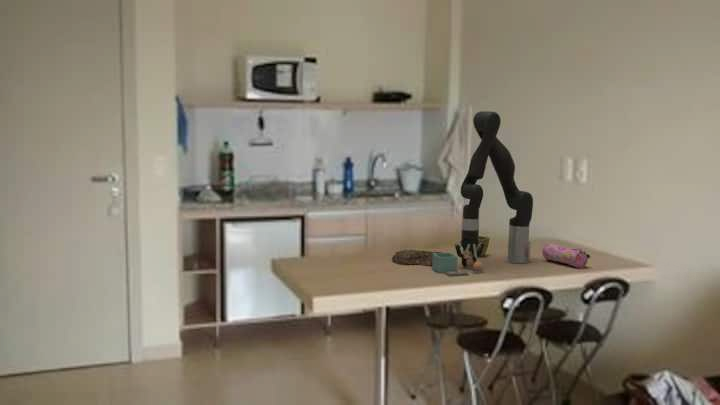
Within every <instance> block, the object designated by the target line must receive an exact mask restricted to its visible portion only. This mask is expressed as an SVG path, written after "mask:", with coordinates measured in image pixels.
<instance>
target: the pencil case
mask: <svg viewBox="0 0 720 405" xmlns="http://www.w3.org/2000/svg"><path fill="white" fill-rule="evenodd" d="M541 251H542V253H541V254H542V256H543V259H545V260H547V261H549V262H550V261H552V262H557V263H558V262H559V263H562V264H566V265H569V266H570V267H573V268H577V269H578V270H579V269H583V268H584V267H585V266H586V265H587V264H588V261H589V260H588V259H591V255H590V254H588V253H587V252H586V250H584V249H581V248H579V247H578V248H570V247H565V246H560V245H558V244H556V243H553V242H551V241H550V242H548V243H546V244H545V245H544V246H543V247H542V250H541Z"/></svg>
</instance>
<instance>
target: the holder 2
mask: <svg viewBox="0 0 720 405" xmlns="http://www.w3.org/2000/svg"><path fill="white" fill-rule="evenodd" d="M471 272H472V273H474V274H483V273H484V270H483V269H481V270H475V269H471Z"/></svg>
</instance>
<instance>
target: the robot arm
mask: <svg viewBox="0 0 720 405" xmlns="http://www.w3.org/2000/svg"><path fill="white" fill-rule="evenodd" d="M472 122H473V127H474V129H475V131H476V133H477V135H478V137H479V138H480V140H481V141H480V142H479V144H478V146H477V148H476V150H475V151H474V153H473V154H472V155H471V159H470V161H469V167H468V170H467V171H468V172H467V174H466V175H465V178H464V179H463V181H462V183H461V185H460V195H461V196H462V198H464V199H466V200H469V202H468V204H465V205H463V208H462V221H461V234H460V235H461V238H460V239H461V240H460V243H455V244H454V247H455V251H456V254H457V255H456V256H457V257H458V258H461V266H462V267H463V266H464V267H466V258H467V254H469V252H468V251H471V252H472V256H471V258H472V259H473V261H474V262H473V264H474V263H475V262H477V258H478V257H479V258H481V257H482V256H481V254H482V251H483V248H484V244H483V243H479V241H478V237H479V236H480V235H479V234H480V233H479V232H480V231H479V230H480V221H479V220H480V219H479V218H480V207H481V205H482V201H483V197H484V189H483V187H482V185H480V184H478V183H477V181H478V180H481V179H483V178H484V175H485V171H486V168H487V167H486V166H487V163H488V158H489V160H490V162H491V164H492V167H493V169H494V171H495V173H496V176H497V178H498V181H499V183H500V186H501V189H502V191H503V195H504V198H505V202H506V204H507V206H508V207H509V208H510V209H511V210H515V211H516V213H515V216H514V217H511V218H509V223H508V242H507V245H508V246H507V262H508V263H512V264H528V263H530V258H531V256H530V255H531V242H530V223H531V220H532V217H533V209H534V208H533V207H534V198H533V195H532V194H531V192H528V191H523V190H520V189H519V188H518V186H517V184H516V181H515V173H516V172H515V171H516V170H515V169H516V165H515V161H514V159H513V157H512V154H511V152H510V151H509V149H508V148H507V147H506V145H504V144H503V143H502V141H500V139H499V138H498V137H497V135H498V132H499V130H500V127H501V122H502V121H501V116H500V114H498V113H497V112H495V111H487V110H486V111H482V110H481V111H478V112H476V113H475V114H474V116H473V121H472ZM476 183H477V184H476ZM477 246H478V250H477V251H476V247H477ZM461 248H462V250H461ZM480 256H481V257H480ZM464 267H463V268H464Z"/></svg>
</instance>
